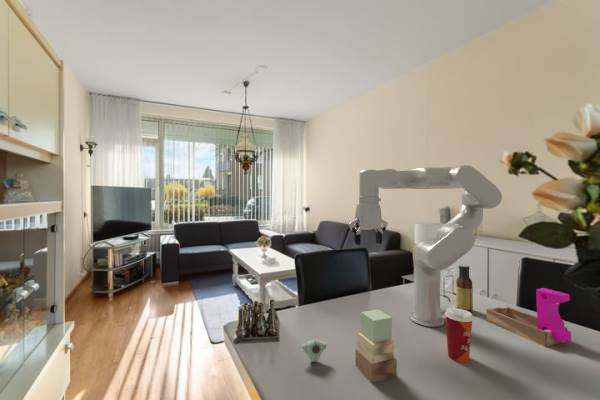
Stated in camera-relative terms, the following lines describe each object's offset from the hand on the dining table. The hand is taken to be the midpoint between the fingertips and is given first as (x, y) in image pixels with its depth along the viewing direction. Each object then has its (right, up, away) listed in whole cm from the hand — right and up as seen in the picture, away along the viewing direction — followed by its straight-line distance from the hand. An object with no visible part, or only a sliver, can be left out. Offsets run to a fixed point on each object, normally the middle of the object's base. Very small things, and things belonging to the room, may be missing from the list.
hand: (368, 243), depth 114 cm
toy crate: (+55, -31, -8) cm, 64 cm away
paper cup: (+21, -31, -26) cm, 46 cm away
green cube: (-6, -21, -34) cm, 40 cm away
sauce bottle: (+44, -31, +10) cm, 55 cm away
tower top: (-6, -26, -34) cm, 43 cm away
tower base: (-6, -31, -34) cm, 46 cm away
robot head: (-23, -31, -30) cm, 48 cm away
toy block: (+58, -21, -14) cm, 63 cm away
